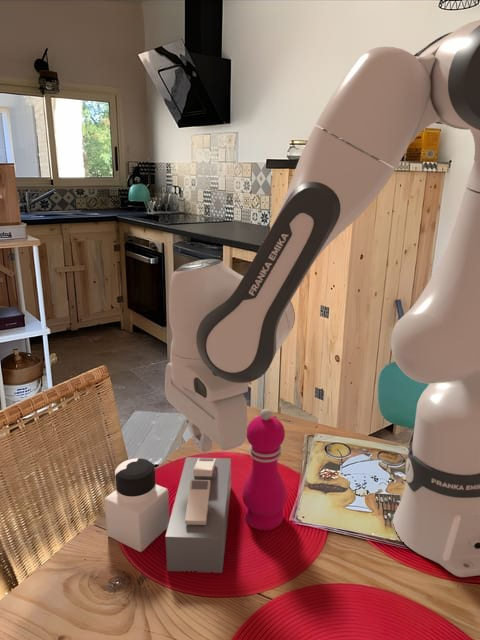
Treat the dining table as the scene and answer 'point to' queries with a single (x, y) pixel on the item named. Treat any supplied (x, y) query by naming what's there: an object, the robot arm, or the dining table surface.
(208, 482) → the paddle on
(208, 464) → the paddle
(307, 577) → the dining table surface
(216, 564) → the breaker panel
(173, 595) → the dining table surface
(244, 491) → the pepper mill
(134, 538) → the medicine bottle
